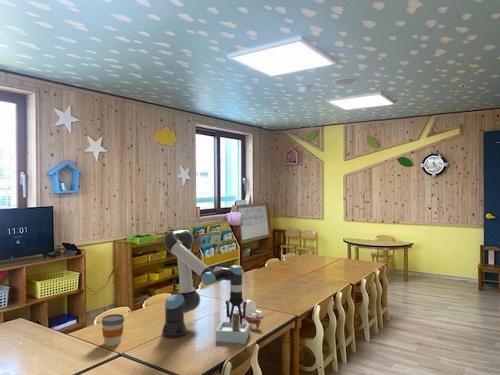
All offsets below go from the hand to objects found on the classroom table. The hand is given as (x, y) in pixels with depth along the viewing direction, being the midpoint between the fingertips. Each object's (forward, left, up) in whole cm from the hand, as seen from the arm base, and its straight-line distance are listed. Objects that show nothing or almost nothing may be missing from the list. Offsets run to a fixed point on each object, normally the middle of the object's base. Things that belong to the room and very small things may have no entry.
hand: (236, 328), depth 226 cm
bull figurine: (+7, +19, -6) cm, 21 cm away
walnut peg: (0, 0, -6) cm, 6 cm away
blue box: (-2, +1, -6) cm, 6 cm away
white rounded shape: (+1, +43, -6) cm, 44 cm away
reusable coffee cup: (-71, -20, -6) cm, 74 cm away
